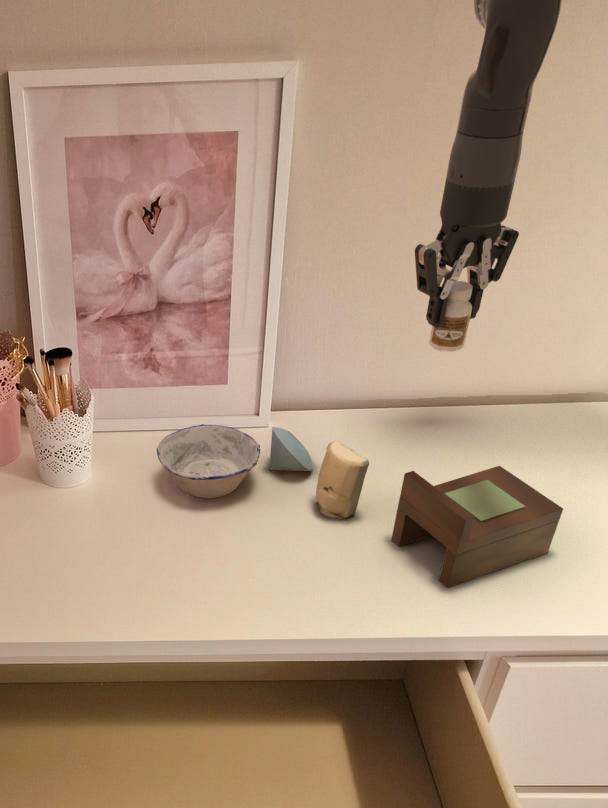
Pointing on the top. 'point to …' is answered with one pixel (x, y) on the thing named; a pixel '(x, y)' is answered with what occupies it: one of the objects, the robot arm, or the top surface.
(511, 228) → the robot arm
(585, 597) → the top surface
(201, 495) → the bowl
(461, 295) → the pill bottle
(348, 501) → the beige rounded block
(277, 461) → the gemstone
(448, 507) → the shelf
